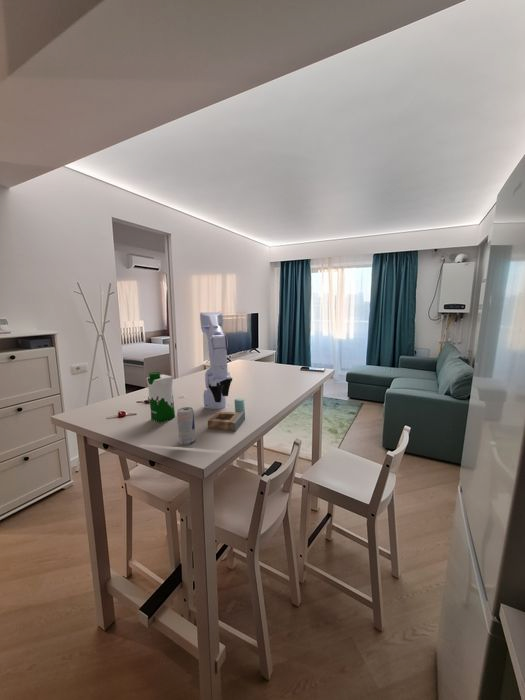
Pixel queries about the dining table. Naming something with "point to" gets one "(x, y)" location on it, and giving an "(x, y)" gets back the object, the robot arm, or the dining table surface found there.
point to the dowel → (239, 405)
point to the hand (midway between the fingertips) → (221, 398)
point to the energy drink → (186, 425)
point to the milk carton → (161, 397)
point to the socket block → (222, 420)
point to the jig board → (238, 421)
